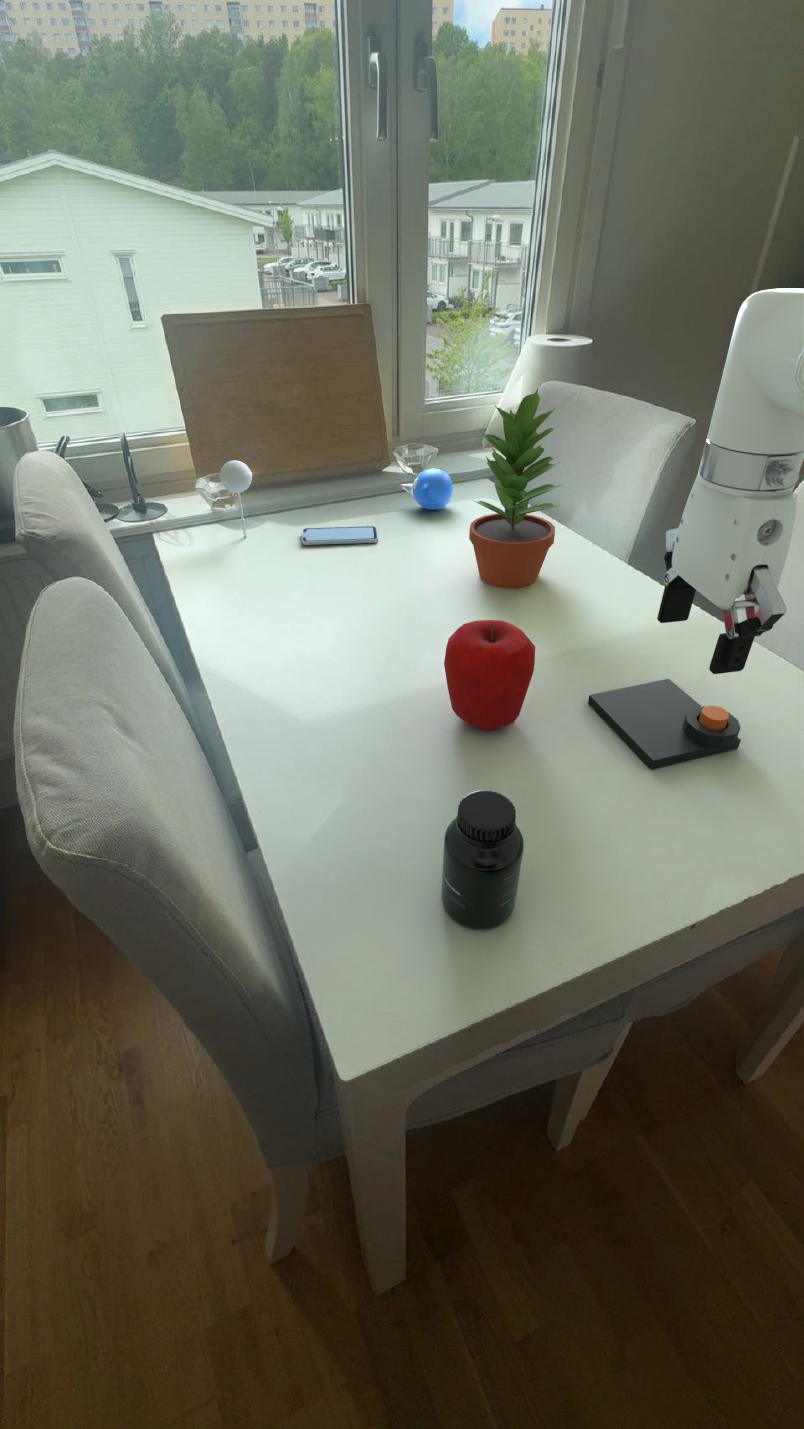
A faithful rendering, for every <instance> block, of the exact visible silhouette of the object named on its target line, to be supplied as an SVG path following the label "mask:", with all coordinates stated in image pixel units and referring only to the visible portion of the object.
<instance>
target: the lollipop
mask: <svg viewBox="0 0 804 1429" xmlns="http://www.w3.org/2000/svg"><path fill="white" fill-rule="evenodd" d="M252 479H253V473H252V471H251V469H250V468H249V466H248V465H247V464H246V463H244V462H242V461H241V460H230V461H227V462H226V463H225V464H224V465H223V466H222V467H221V469H220V472H219V480H220V482H221V484H222V485H223V487H224V488H225V489H226V490H228V491H229V492H231V493H233V494H234V493H235V494H237V499H238V506H239V511H240V518H241V524H242V531H243V538H247V536H248V535H247V531H246V525H245V518H244V517H245V516H244V512H243V511H244V510H243V505H242V504H243V503H242V499H241V493H244V492H246V491H247V490H248V489H249V488H250V486H251V484H252Z"/></svg>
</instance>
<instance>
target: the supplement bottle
mask: <svg viewBox="0 0 804 1429" xmlns="http://www.w3.org/2000/svg"><path fill="white" fill-rule="evenodd" d="M516 817H517V810H516V807H515V805H514V802H512V800H511V799H510V798H508V797H507V796H506V795H503V794H502V793H500V792H498V791H494V790H488V789H483V790H481V789H480V790H474V791H473V792H469V793H468V794H465V796H463V797H462V799H461V800H460V801H459V804H458V806H457V815H456V817H455V818H454V819H453V820H452V821H451V822H450V823H449V824H448V826H447V828H446V830H445V832H444V837H443V838H444V839H443V851H442V852H443V853H442V854H443V856H442V875H441V903H442V907H443V908H444V911H445V912H446V913H447V915H448V916H449V917H450V918H451V919H452V920H453V921H454V922H456V923H457V924H459V925H461V926H462V927H465V928H468V929H471V930H477V931H479V930H480V931H484V930H491V929H494V928H497V927H499V926H501V925H502V924H504V923H505V922H506V921H508V919H509V918H510V917H511V915H512V914H513V912H514V910H515V906H516V901H517V894H518V889H519V888H518V887H519V882H520V874H521V868H522V862H523V855H524V848H525V846H524V837H523V834H522V832H521V830H520V829H519V827H518V826H517V823H516V822H517V821H516Z"/></svg>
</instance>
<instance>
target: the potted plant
mask: <svg viewBox="0 0 804 1429" xmlns="http://www.w3.org/2000/svg"><path fill="white" fill-rule="evenodd" d="M540 401H541V396H540V395H539V388H537V389H536V390H535V392H534V393H530V394H527V395H525V396H524V397H523V398H522V399H521V401H520V403H519V405H518V408H517V410H516V412H515V413H514V412H513V410H512V409H511V408H510V409H509V412H507V411H505V410H503V408H501V407H498V406H496V404H495V403H494V402H492V404H493V405H494V406H495V409H496V410H497V411H498V413H499V414H500V416H501V418H502V426H503V433H504V439H505V440H503V439H502V438H501V437H499V436H497V435H495V434H485V433H483V432H482V431H480V434H481V435H482V436H483V438H484V439H485V440H486V441H487V442H488V443H490V444H491V446H493V447H494V448H493V447H492V448H491V450H492V451H493V452H492V453H491V456H492V458H493V459H494V460H491V459H489V458H488V457H487V456H485V458H486V461H487V462H486V464H487V466H488V467H489V469H490V470H491V472H492V473H493V475H494V476H495V478H496V479H497V480H498V481H495V482H494V488H495V491H496V494H497V497H498V500H499V502H500V503H501V504H500V505H502V507H503V508H504V510H503V509H501V508H499V507H497V506H495V505H493V504H492V503H489V502H486V501H482V500H479V501H475V500H474V503H476V504H478V505H480V506H482V507H484V508H485V509H488V510H490V511H492V512H494V513H491V514H485V515H483V516H480V517H478V518H475V519H474V520H473V521H472V522H470V524H469V533H468V534H469V535H468V540H469V541H470V543H471V544H472V547H473V551H474V556H475V560H476V565H477V571H478V575H479V578H480V579H481V581H483V582H484V583H485V584H488V585H490V586H492V587H496V588H503V589H520V588H526V587H528V586H531V585H533V584H534V583H535V582H536V581H537V580H538V578H539V575H540V572H541V569H542V567H543V564H544V562H545V559H546V557H547V554H548V552H549V549H550V548H551V547H552V546H553V544H554V543H555V536H556V527H555V525H553V523H552V522H551V521H549V520H547V519H546V518H542V517H541V516H540V517H539V516H536V515H532V514H531V513H536V512H540V511H545V510H550V509H554V508H557V507H560V506H561V505H560V504H559V505H554V503H551V502H545V503H540V504H536V505H532V506H529V503H530V500H532V499H534V498H536V497H539V496H542V495H544V494H546V493H548V492H550V491H553V490H555V489H556V488H559V487H560V486H562V485H563V484H558V485H554V484H552V483H551V484H550V483H548V484H543V485H541V486H538V487H535V488H533V489H531V490H529V491H526V490H525V489H527V487H528V483H530V482H531V481H533V480H535V479H536V478H538V477H539V476H541V475H543V474H545V473H546V472H548V471H549V470H551V469H553V468H554V467H555V466H556V465H558V464H559V463H560V461H558V462H556V463H550V462H552V461H554V460H555V459H557V458H558V456H556V457H553V456H546V457H543V458H541V459H539V458H540V457H541V455H542V454H543V453H544V451H545V447H543V446H542V444H539V445H538V446H537V447H535V446H536V444H537V443H538V442H539V441H541V440H542V439H544V438H545V437H547V436H548V435H549V434H550V433H552V432H553V431H554V430H555V429H557V428H558V427H559V425H557V426H556V427H555V428H554V427H549V428H546V429H545V430H544V431H542V432H540V433H538V432H537V430H538V428H539V427H540V426H541V425H542V424H543V423H544V421H546V420H547V418H549V416H550V415H551V414H552V413H553V412H554V411H555V410H556V408H557V406H555V407H554V408H553V409H552V410H548V411H547V412H544V413H541V414H539V415H538V416H536V413H537V410H538V407H539V404H540ZM535 416H536V417H535ZM496 450H497V451H498V452H499V453H498V452H496ZM538 459H539V460H538Z"/></svg>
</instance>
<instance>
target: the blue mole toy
mask: <svg viewBox="0 0 804 1429" xmlns="http://www.w3.org/2000/svg"><path fill="white" fill-rule="evenodd" d="M399 488H400V489H401V490H404V491H405V492H407V493H408V494H409V495H411V496H412V498H413V499H414V500H415V501H416V502H417V504H418V505H419V506H420V507H421V508H424V509H425V510H430V511H436V510H440V509H443V508H444V507H445V506H447V505H448V504H449V503H450V501H451V499H452V496H453V491H454V486H453V481H452V478H451V477H450V476H449V474H448V473H447V472H446V471H444V470H443V469H439V468H428V469H424V470H423V471H421V472H420V473H419V474H418V475H417V476H416V478H415V479H414V480H413V482H412V483H404V484H403V483H401V484H399Z"/></svg>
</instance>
